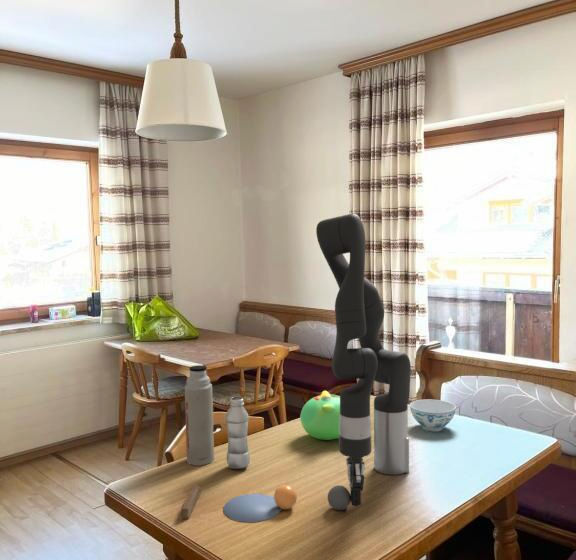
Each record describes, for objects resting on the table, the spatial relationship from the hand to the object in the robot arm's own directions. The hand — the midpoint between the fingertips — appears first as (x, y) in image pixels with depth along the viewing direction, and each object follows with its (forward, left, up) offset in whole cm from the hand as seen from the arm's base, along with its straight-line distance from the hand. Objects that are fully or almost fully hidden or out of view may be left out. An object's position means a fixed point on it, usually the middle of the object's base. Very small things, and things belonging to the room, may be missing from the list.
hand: (355, 504), depth 134 cm
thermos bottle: (+44, -30, -2) cm, 53 cm away
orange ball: (+17, -1, +1) cm, 17 cm away
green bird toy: (+6, -49, -2) cm, 49 cm away
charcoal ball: (+4, -1, +1) cm, 4 cm away
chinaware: (-29, -59, -2) cm, 66 cm away
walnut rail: (+40, -1, -2) cm, 40 cm away
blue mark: (+25, -1, -2) cm, 25 cm away
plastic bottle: (+32, -25, -2) cm, 41 cm away
